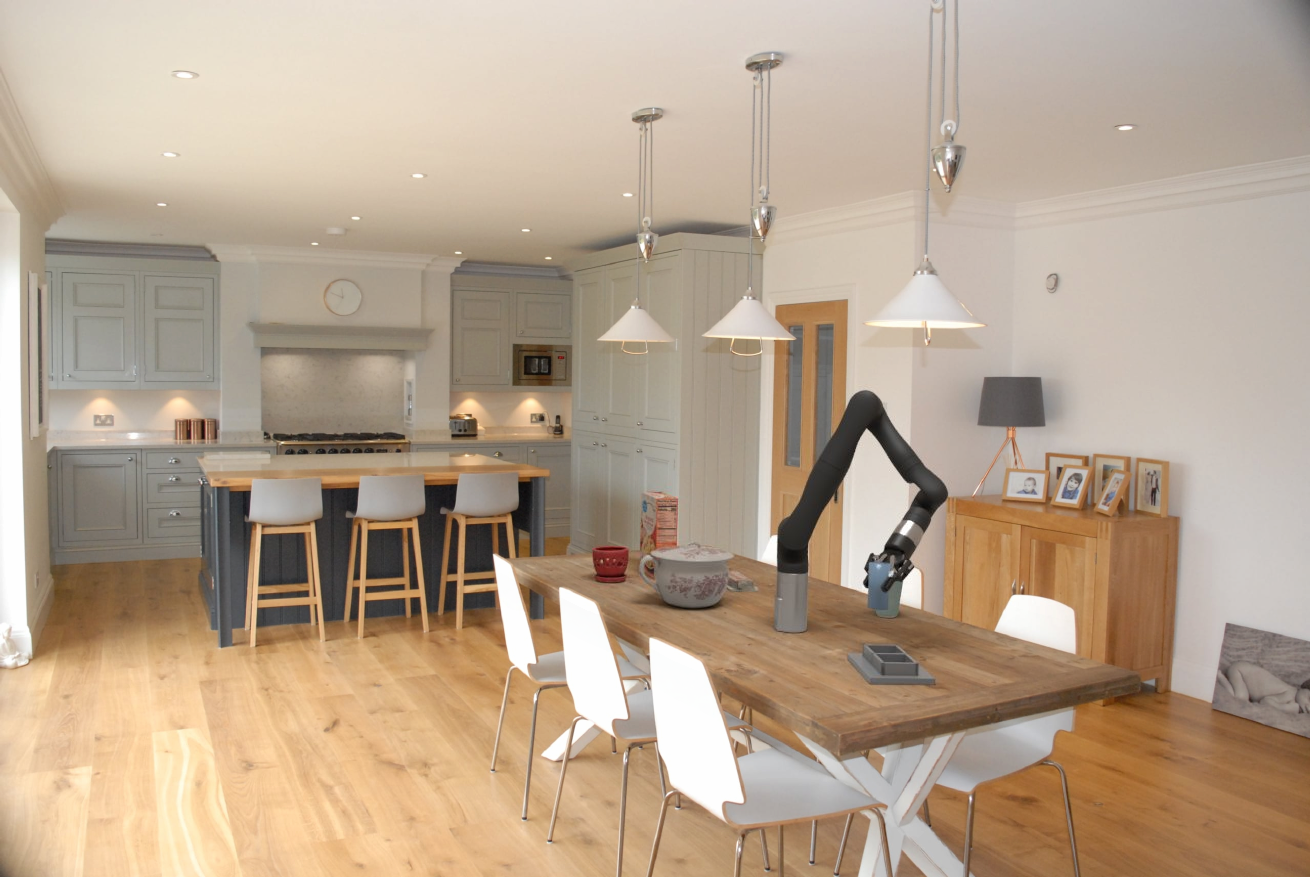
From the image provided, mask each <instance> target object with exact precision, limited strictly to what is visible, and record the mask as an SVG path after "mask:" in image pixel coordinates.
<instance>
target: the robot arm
mask: <svg viewBox="0 0 1310 877" xmlns="http://www.w3.org/2000/svg"><path fill="white" fill-rule="evenodd" d="M867 430H868V432H870V434H872V435H873V437H874V438H875V439H876V440H877V442H878V443H879V445H880V446H881V448H882V450H883V452H884V453H885V455H886V456H887V458H888V459H889V461H890V463H891V464H892V465H893V467H894V469H895V470H896V471H897V473H898V474H899V476H900V477H902V479H903V481H905V483H907V484H909V485H910V484H911V485H912V484H914V485H916V487H918V488H919V491H917V493H916V495H915V496H914V498H913V499H912V501H911V504H910V506H909V508H908V509H907V511H906V513H905V514H904V515H903V518H901V520H900V522H898V524H897V525H896V526H895V528H894V530H893V532H892V533H891V534H890V536H889V537H888V539H887V541H886V542H885V544H884V547H883V550H882V552H880V553H879V554H875V553H874V552H871V553H870V554H869V556H868V558H867V561H866V562H865V564H864V567H863V569H864V571H865V573H866V576H865V578H864V579H863V581H862V584H863V586H864V588H865V589H867V590H868V580H869V562H886V563H890V572H889V577H887V578H886V580H885V582H884V583H883V585H882V586H881V589H882V591H883V592H885V593H887V591H889V590H890V589H891V587H892V585H893V584H894V583H895V582H897V581H899V582H902V581H903V582H904V580H905V579H906V578H907V577H908V576H909V574H910V573H911V572H912V571H913V570H914V569H915V564H914V563H913V561H912V560H911V558H912V556H913V555H914V553H915V551H916V549H917V548H918V546H919V545H920V544H921V542H922V538H923V536H924V534H925V533H926V532H927V530H928V528H929V526H930V524H931V523H932V522H931V521H932V518H933V516H934V515H935V513H936V511H937V510H938V509H939V508H940V507H941V506H942V505H943V504H944V503H946V502H947V500H948V498H949V490H948V488H947V486H946V484H945V482H943V480H942V479H941V478H939V477H938V475H936V474H935V473H934V472H933V471H931V470H930V469H929V468H927V466H925V463H923V461H922V460H921V458H920V457H919V456H918V455H917V453H916V452H915V451H914V450H913V448H912V447H911V445H909V443H908V442H907V441H906V440H905V439H904V437H903V436H902V434H900V432H899V431H898V429H896V427H895V425H894V423H893V422H892V421H891V419H890V417H889V415H888V413H887V411H886V410H885V407H884V405H883V401H882V400H881V398H880V397H879V396H878V395H877V394H876V393H874V392H873V391H871V390H868V389H867V390H866V389H864V390H858V391H857V392H855V393H854V394H853V395H852V396H851V397H850V399H849V401H848V404H847V406H846V408H845V410H844V413H843V415H842V417H841V420H840V421H839V424H838V425H837V427H836V429H835V431H834V433H833V434H832V436H831V437H830V439H829V440H828V442H827V443H826V445H825V447H824V448H823V450H822V451H821V453H820V455H819V456H818V458H817V460H816V462H815V464H814V465H813V468H812V469H811V470H810V473H809V476H808V477H807V480H806V483H805V486H804V489H803V491H802V495H801V497H800V499H799V501H798V503H797V504H796V506H795V508H794V509H793V510H792V512H791V513H790V515H789V516H786V517H784V518H783V519H782V520H781V521H780V522H779V524H778V527H777V534H776V535H777V536H776V537H777V539H776V586H775V587H776V591H775V594H774V605H773V608H774V609H773V627H774V629H775V630H776V631H777V632H784V633H802V632H806V631H807V629H808V628H807V627H808V626H807V625H808V599H809V596H808V595H809V573H810V572H809V567H810V566H809V565H810V563H809V542H810V541H811V538H812V535H813V533H814V530H815V529H816V526H817V525H818V521H819V519H820V518H821V515H822V514H823V512H824V511H825V509H826V507H827V505H829V503H830V502H831V500H832V498H833V497H834V496H835V494H836V492H837V490H838V489H839V487H840V486H841V484H842V483H843V480H844V479H845V477H846V475H847V474H848V472H849V470H850V468H851V466H852V463H853V460H854V457H855V453H856V450H857V446H858V444H859V441H860V439H861V438H862V436H863V435H864V433H865V431H867ZM902 573H903V574H902ZM901 574H902V576H901Z"/></svg>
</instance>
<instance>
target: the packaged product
mask: <svg viewBox="0 0 1310 877" xmlns="http://www.w3.org/2000/svg"><path fill="white" fill-rule="evenodd" d="M727 588H728V589H729V590H728V589H727V590H728V591H730V592H732V593H743V592H742V591H755V592H759V587H757V586H756V585H755V582H754V579H752V578H750V577H749V576H747V575H745V574H743V573H741V572H739V571H737V570H731V571H730V572H729V581H728V585H727Z"/></svg>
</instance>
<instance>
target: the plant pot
mask: <svg viewBox="0 0 1310 877" xmlns="http://www.w3.org/2000/svg"><path fill="white" fill-rule="evenodd" d="M629 555H630V554H629V548H628V547H626V546H618V545H617V546H616V545H607V546H606V545H605V546H598V547H593V548H592V563H593V567H594V571H595V573H596V574H595V575H594V578H595V579H596V580H597V581H598V582H601V583H620V582H621V583H622V582H623V581H625V580H626V579H627V577H628V574H626V571H627V569H628V565H629V564H628V563H629ZM607 559H608V560H607ZM601 561H602V562H601Z"/></svg>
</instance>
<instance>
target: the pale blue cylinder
mask: <svg viewBox="0 0 1310 877" xmlns="http://www.w3.org/2000/svg"><path fill="white" fill-rule="evenodd" d="M889 572H890V563H886V562H869V580H868V589H867V608H868V609H870V610H873V611H874V610H887V609H889V591H887V593H885V592H883V591H882V589H881V586H882V585H883V583H884V582H885V580H886V578H887V577H889Z"/></svg>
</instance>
